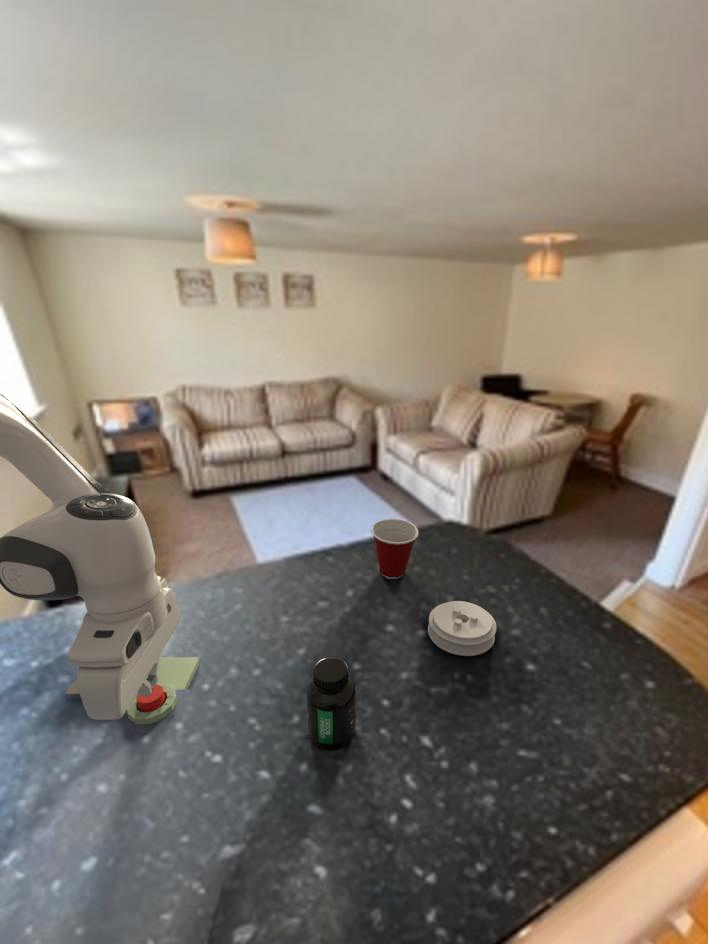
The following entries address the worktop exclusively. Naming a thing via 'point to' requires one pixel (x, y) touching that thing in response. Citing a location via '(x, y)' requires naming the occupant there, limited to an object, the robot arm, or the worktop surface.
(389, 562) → the plastic cup
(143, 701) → the button
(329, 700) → the supplement bottle
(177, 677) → the green flat piece
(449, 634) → the lid
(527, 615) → the worktop surface
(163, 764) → the worktop surface
